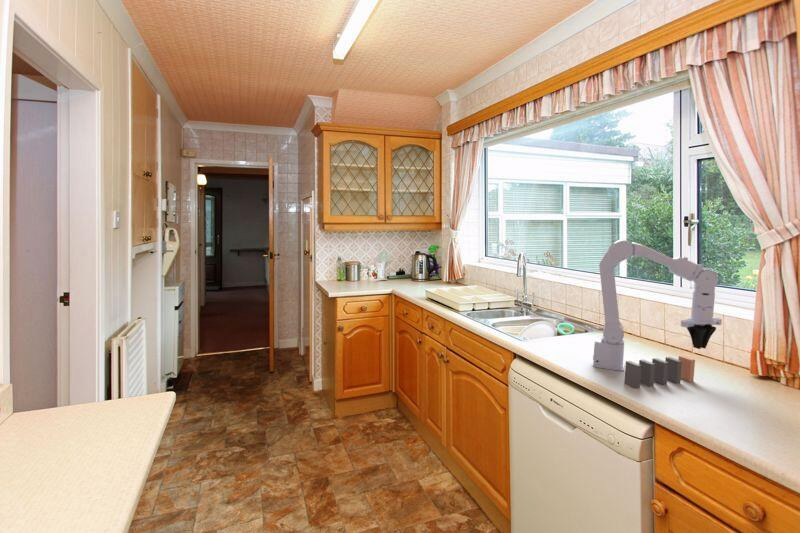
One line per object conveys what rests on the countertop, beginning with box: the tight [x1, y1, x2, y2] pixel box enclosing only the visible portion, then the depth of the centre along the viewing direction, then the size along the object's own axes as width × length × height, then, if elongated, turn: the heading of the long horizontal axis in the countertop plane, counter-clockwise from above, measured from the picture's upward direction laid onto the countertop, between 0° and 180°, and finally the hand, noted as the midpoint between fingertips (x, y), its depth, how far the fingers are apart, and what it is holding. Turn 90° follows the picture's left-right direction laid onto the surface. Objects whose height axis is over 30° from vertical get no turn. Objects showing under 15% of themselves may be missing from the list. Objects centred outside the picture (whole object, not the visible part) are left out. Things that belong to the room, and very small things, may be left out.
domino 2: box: [638, 359, 655, 387], centre depth 135 cm, size 2×4×7 cm, turn 16°
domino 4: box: [664, 356, 682, 384], centre depth 138 cm, size 2×4×7 cm, turn 16°
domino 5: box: [678, 355, 696, 383], centre depth 140 cm, size 2×4×7 cm, turn 16°
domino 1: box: [623, 360, 641, 389], centre depth 134 cm, size 2×4×7 cm, turn 16°
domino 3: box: [651, 357, 668, 386], centre depth 137 cm, size 2×4×7 cm, turn 16°
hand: (699, 347), depth 140 cm, fingers closed
